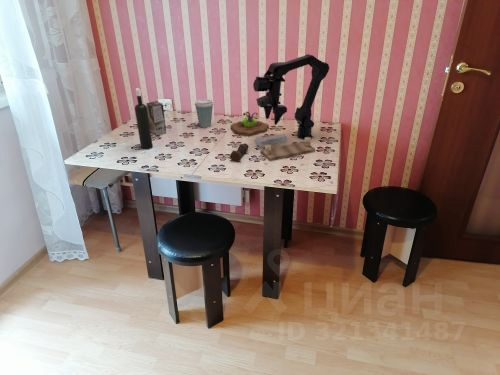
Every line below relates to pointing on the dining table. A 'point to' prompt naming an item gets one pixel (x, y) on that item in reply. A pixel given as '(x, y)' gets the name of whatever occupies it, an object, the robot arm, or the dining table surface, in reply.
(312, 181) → the dining table surface
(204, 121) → the disposable coffee cup
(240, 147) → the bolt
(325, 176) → the dining table surface
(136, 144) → the dining table surface
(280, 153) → the peg rack
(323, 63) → the robot arm
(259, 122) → the plant
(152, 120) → the coffee box
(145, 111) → the wine bottle
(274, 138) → the grey stepped block
